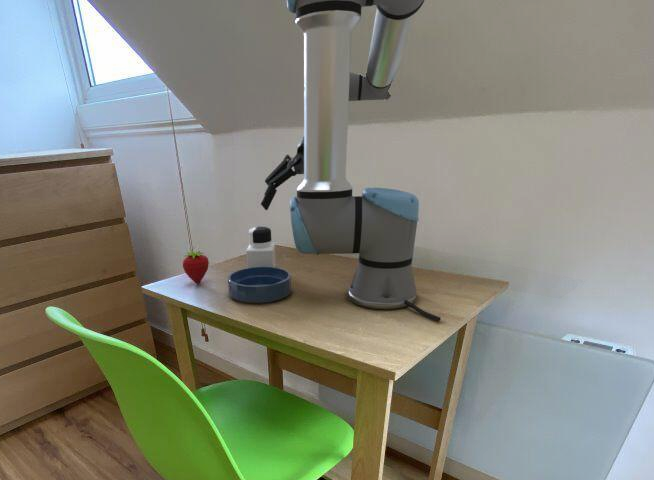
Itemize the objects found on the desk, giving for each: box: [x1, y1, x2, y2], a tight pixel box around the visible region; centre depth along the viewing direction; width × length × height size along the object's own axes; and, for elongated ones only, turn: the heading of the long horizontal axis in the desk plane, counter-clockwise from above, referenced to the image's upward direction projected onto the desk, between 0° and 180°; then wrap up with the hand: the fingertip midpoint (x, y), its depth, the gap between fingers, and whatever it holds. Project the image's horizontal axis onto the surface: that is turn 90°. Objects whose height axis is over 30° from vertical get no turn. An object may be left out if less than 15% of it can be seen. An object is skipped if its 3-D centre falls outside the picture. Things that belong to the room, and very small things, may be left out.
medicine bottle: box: [245, 226, 277, 268], centre depth 118 cm, size 7×7×12 cm
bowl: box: [227, 266, 292, 304], centre depth 106 cm, size 15×15×4 cm
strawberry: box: [182, 247, 210, 285], centre depth 113 cm, size 6×8×10 cm
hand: (282, 209), depth 120 cm, fingers open, 13 cm apart
